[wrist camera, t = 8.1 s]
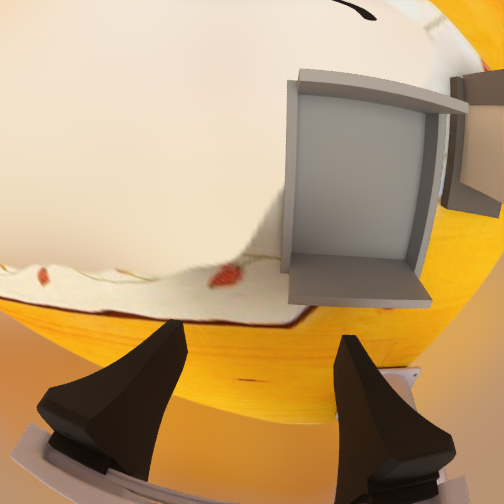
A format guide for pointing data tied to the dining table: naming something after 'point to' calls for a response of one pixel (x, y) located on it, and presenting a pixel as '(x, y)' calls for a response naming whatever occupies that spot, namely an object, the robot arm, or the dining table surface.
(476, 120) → the box
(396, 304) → the grey open tray
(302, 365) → the dining table surface
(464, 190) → the rubber mat
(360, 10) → the eyeglasses
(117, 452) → the robot arm
